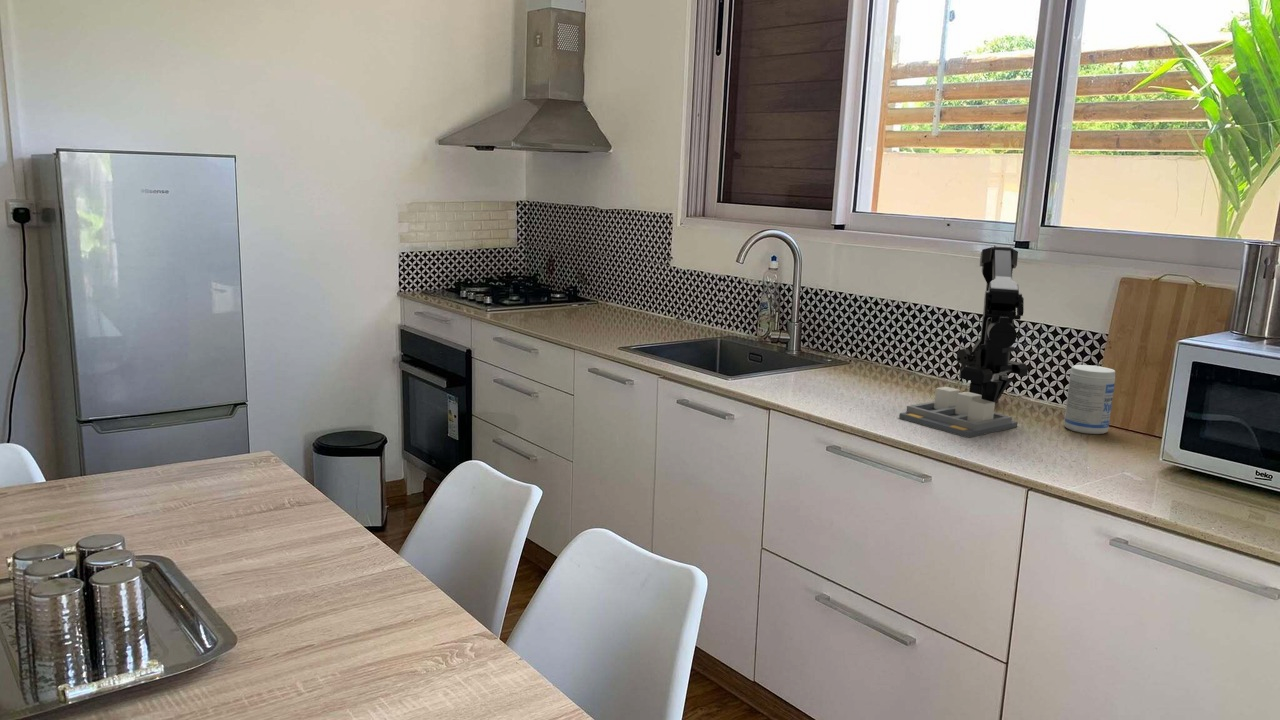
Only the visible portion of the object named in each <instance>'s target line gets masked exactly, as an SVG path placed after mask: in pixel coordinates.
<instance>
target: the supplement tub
mask: <svg viewBox="0 0 1280 720" xmlns="http://www.w3.org/2000/svg"><path fill="white" fill-rule="evenodd" d="M1069 373H1070V374H1069V379H1068V380H1069V381H1068V388H1067V397H1066V403H1065V405H1066V406H1065V413H1064V414H1065V415H1064V421H1063V422H1064V423H1063V424H1064V427H1065V428H1066V429H1068V430H1070V431H1071V432H1076V433H1082V434H1090V435H1101V434H1106V433H1107V432H1108V431H1109V428H1110V427H1109V426H1110V420H1111V413H1112V405H1113V397H1114V391H1115V383H1116V370H1115V369H1113V368H1109V367H1104V366H1099V365H1092V364H1091V365H1089V364H1075V365H1072V366H1071V371H1070V372H1069Z"/></svg>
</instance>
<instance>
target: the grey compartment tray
mask: <svg viewBox="0 0 1280 720" xmlns="http://www.w3.org/2000/svg"><path fill="white" fill-rule="evenodd" d="M934 402H935V400H933V401H929V402H923V403H921V402H920V403H916V404H912V405H911V404H910V405H906V411H905V412H900V413H899V417H898V419H900V420H905V421H908V422H912V423H915V424H919V425H921V426H925V427H929V428H931V429H932V428H933V429H935V430H940V431H943V432H947V433H950V434H953V435H957V436H961V437H964V438H966V439H967V438H968V439H969V438H974V437H978V436H982V435H987V434H993V433H995V432H996V433H998V432H1000V431H1001V432H1002V431H1005V430H1010V429H1014V428H1017V427H1018V421H1015V420H1013V416H1008V415H1005V414H1002V413H997V412H994V416H993V419H990V420H986V421H981V422H976V423H974V422H970V421H967V418H968V414H963V415H958V414H955V408H956V406H954V407H948V408H943V409H935V408H934Z"/></svg>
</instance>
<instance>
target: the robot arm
mask: <svg viewBox="0 0 1280 720" xmlns="http://www.w3.org/2000/svg"><path fill="white" fill-rule="evenodd" d="M1018 255H1019V251H1018V250H1016V249H1014V247H1013V246H1011V245H999V244H995V245H991V247H987V248H983V249H982V250H981V252H980V257H979V267H981V273H982V276H983V278H984V280H985V282H986V286H985V292H984V298H983V299H984V300H983V311H982V312H983V313H982V321H981V327H980V337H979V339H978V340H977V341H976V342H975V343H974V345H973V346H972V351H970V349H969V348H961V349H958V351H957V353H956V358H955V359H956V360H955V361H956V362H957V363H958V364H960V365H961V368H960V370H959V376H958V377H959V379H961V380H966V381H969V383H970V384H969V389H968V392H971V393H975V394H979V395H982V398H981V399H983V400H988V401H992V402H995V405H996V404H997V403H998V402H999V401H1000V398H1001V396H1002V395H1003V394H1004V392H1005V391H1006V389H1007V388H1008V387H1009V385H1010V383H1012V382H1013V380H1014V379H1013V378H1010V377H1009V375H1008V374H1016V375H1018V377H1027V376H1028V373H1029V367H1028V365H1027V364H1026V363H1024V362H1019V361H1014V360H1010V356H1011V355H1010V354H1011V352H1012V353H1013V352H1015V346H1012V345H1013V344H1015V342H1016V340H1017V335H1018V334H1017V330H1016V328H1015V327H1014V320H1018V321H1019V320H1021V318H1022V317H1023V316H1024V310H1025V309H1024V305H1025V304H1024V297H1023V294H1022V292H1020V290H1019V289H1020V288H1019V284H1018V282H1016V281H1014V280H1013V270H1014V269H1016V268H1017V266H1018V259H1019V258H1018V257H1019V256H1018Z"/></svg>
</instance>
